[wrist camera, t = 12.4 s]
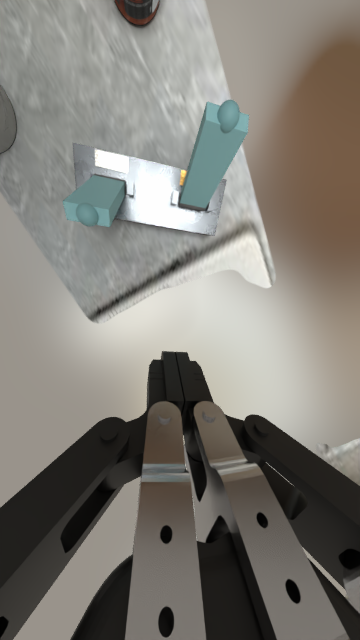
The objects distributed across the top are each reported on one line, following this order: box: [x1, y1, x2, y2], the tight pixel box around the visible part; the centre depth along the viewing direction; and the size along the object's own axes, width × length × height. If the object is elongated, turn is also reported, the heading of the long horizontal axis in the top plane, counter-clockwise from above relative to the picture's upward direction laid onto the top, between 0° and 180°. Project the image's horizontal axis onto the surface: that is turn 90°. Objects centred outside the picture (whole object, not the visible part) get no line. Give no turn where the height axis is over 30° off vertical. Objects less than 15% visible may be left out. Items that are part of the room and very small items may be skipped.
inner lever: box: [63, 173, 126, 227], centre depth 22 cm, size 4×2×14 cm, turn 81°
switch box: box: [73, 143, 226, 236], centre depth 29 cm, size 22×8×6 cm, turn 81°
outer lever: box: [179, 100, 249, 211], centre depth 22 cm, size 4×2×14 cm, turn 81°
